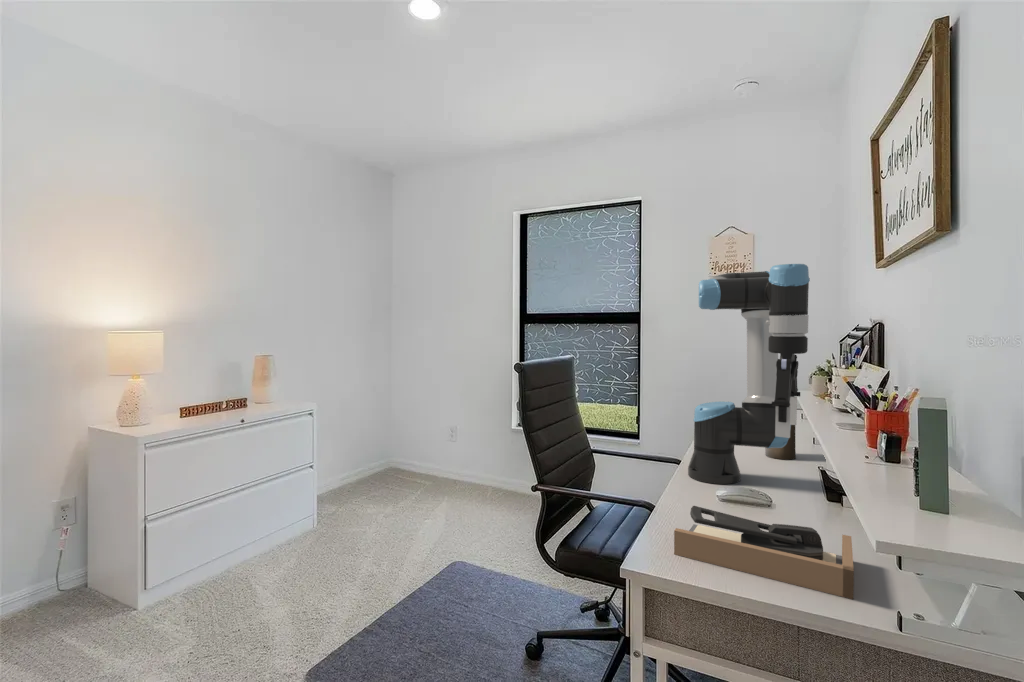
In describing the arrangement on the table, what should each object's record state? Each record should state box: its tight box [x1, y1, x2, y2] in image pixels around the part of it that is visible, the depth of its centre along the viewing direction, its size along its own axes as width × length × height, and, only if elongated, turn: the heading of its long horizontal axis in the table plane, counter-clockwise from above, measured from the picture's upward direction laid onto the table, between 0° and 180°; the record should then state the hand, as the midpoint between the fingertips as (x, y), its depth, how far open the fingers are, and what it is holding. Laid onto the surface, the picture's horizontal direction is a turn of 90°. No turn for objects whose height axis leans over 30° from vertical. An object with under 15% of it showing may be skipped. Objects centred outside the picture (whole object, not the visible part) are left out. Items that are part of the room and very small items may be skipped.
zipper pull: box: [689, 505, 824, 561], centre depth 102 cm, size 9×7×25 cm
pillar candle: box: [764, 425, 797, 461], centre depth 175 cm, size 10×10×15 cm
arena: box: [673, 523, 855, 600], centre depth 99 cm, size 16×30×5 cm, turn 56°
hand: (786, 430), depth 108 cm, fingers open, 13 cm apart
